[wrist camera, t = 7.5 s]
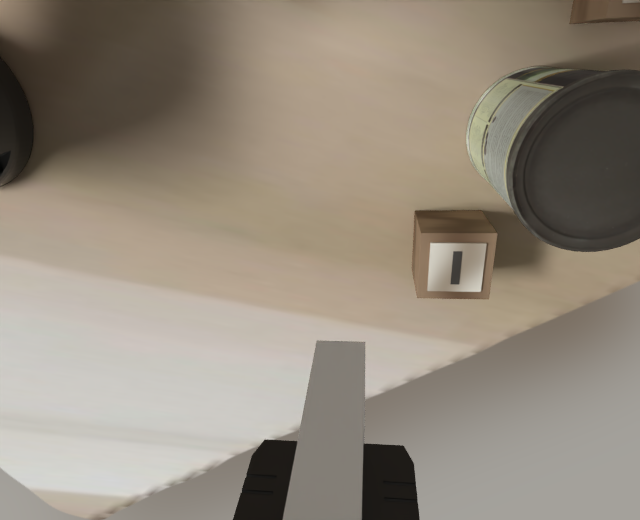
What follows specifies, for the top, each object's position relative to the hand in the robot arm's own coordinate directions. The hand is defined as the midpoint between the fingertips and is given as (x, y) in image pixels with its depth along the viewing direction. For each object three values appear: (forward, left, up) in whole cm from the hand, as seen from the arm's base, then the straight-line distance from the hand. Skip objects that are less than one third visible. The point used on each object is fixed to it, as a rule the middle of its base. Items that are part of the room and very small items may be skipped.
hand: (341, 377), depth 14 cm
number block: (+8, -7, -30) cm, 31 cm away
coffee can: (+14, +3, -30) cm, 33 cm away
